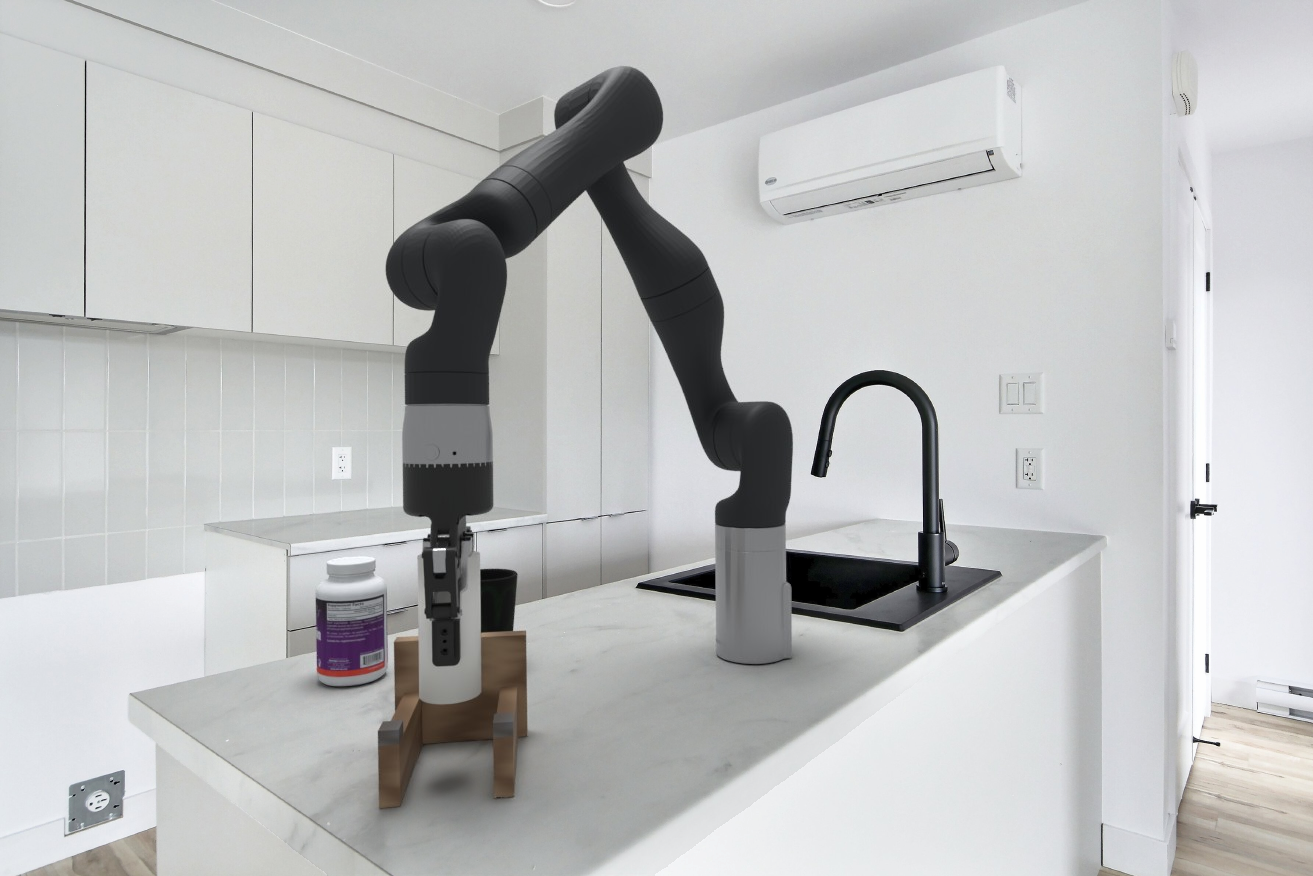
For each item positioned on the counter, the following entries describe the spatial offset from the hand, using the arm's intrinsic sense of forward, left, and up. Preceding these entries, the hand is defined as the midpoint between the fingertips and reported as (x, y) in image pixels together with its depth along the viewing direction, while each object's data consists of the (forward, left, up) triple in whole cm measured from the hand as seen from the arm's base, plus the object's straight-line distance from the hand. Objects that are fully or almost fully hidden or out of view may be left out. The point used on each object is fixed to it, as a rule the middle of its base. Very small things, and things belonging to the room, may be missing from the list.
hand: (450, 653), depth 65 cm
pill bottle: (+15, -29, -11) cm, 34 cm away
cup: (-1, -29, -11) cm, 31 cm away
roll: (0, 0, -3) cm, 3 cm away
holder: (0, -3, -11) cm, 11 cm away
